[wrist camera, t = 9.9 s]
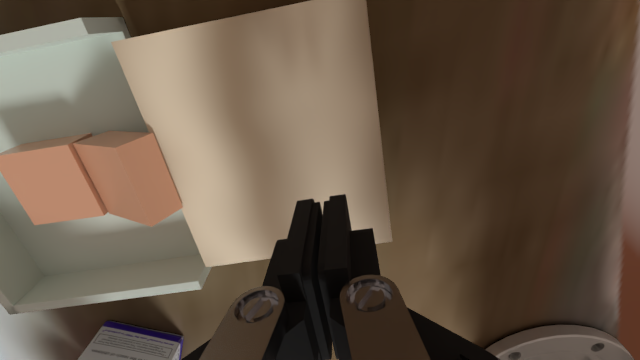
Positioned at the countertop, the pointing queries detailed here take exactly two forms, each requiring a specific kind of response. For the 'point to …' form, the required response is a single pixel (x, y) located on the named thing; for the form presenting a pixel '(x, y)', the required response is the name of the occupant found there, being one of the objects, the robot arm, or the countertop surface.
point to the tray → (89, 233)
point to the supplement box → (132, 344)
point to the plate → (264, 121)
